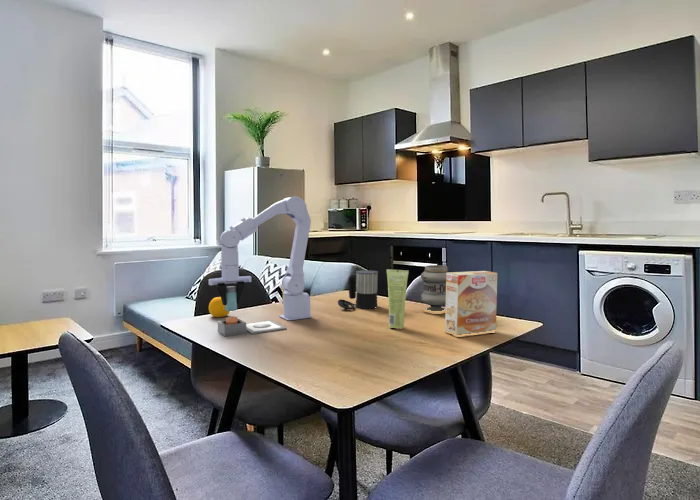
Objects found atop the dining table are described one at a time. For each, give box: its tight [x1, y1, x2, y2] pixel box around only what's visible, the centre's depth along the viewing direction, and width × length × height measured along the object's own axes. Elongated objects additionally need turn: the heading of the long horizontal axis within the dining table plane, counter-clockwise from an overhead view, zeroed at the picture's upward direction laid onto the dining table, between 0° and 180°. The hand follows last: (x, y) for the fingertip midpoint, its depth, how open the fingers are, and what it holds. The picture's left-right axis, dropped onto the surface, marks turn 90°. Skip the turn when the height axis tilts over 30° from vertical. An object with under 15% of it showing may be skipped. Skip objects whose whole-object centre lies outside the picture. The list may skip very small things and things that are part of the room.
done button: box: [225, 316, 239, 325], centre depth 145 cm, size 4×4×2 cm
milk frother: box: [337, 269, 379, 311], centre depth 184 cm, size 14×16×15 cm
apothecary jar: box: [420, 264, 450, 311], centre depth 176 cm, size 12×12×18 cm
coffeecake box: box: [444, 270, 498, 335], centre depth 144 cm, size 15×7×20 cm, turn 112°
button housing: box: [217, 318, 247, 337], centre depth 145 cm, size 7×7×3 cm
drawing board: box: [246, 319, 288, 335], centre depth 152 cm, size 12×13×1 cm
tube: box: [386, 269, 410, 329], centre depth 151 cm, size 6×5×20 cm
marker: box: [225, 285, 238, 312], centre depth 158 cm, size 4×4×8 cm
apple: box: [208, 296, 231, 318], centre depth 169 cm, size 8×8×8 cm
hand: (230, 304), depth 158 cm, fingers closed on marker, 4 cm apart
